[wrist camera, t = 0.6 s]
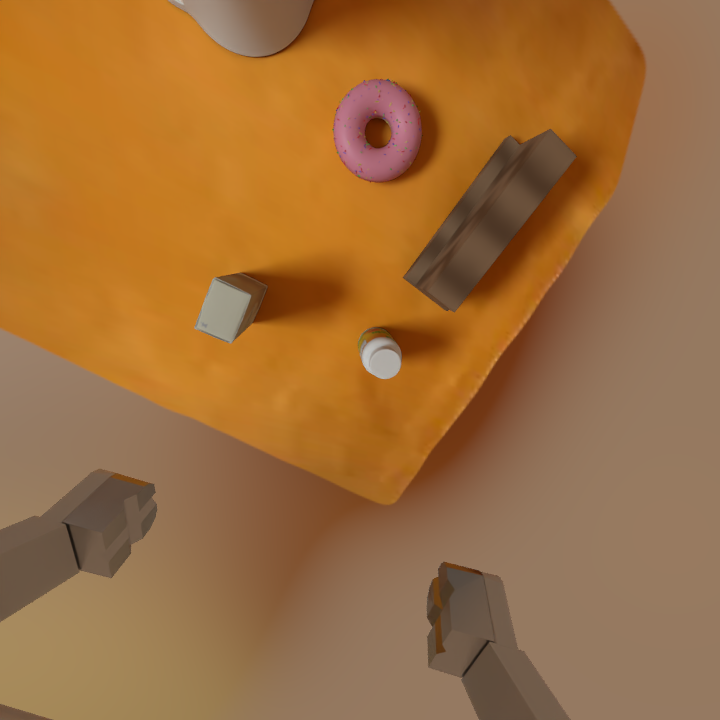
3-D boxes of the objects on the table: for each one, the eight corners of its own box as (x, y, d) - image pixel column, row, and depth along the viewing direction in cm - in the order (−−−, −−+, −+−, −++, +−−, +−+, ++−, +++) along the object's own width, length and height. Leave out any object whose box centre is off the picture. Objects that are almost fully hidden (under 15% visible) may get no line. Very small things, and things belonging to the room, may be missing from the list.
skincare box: (252, 324, 51) (231, 347, 39) (223, 311, 50) (192, 331, 38) (269, 283, 49) (252, 295, 37) (239, 269, 48) (212, 276, 37)
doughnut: (423, 175, 47) (432, 169, 43) (343, 193, 47) (344, 188, 43) (410, 79, 43) (419, 62, 39) (323, 97, 43) (323, 82, 39)
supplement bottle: (397, 331, 53) (412, 349, 44) (386, 364, 54) (399, 388, 45) (363, 322, 52) (371, 338, 43) (353, 356, 53) (359, 379, 44)
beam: (444, 309, 53) (464, 320, 45) (403, 277, 51) (416, 283, 43) (545, 179, 48) (586, 166, 41) (504, 138, 46) (539, 117, 39)
